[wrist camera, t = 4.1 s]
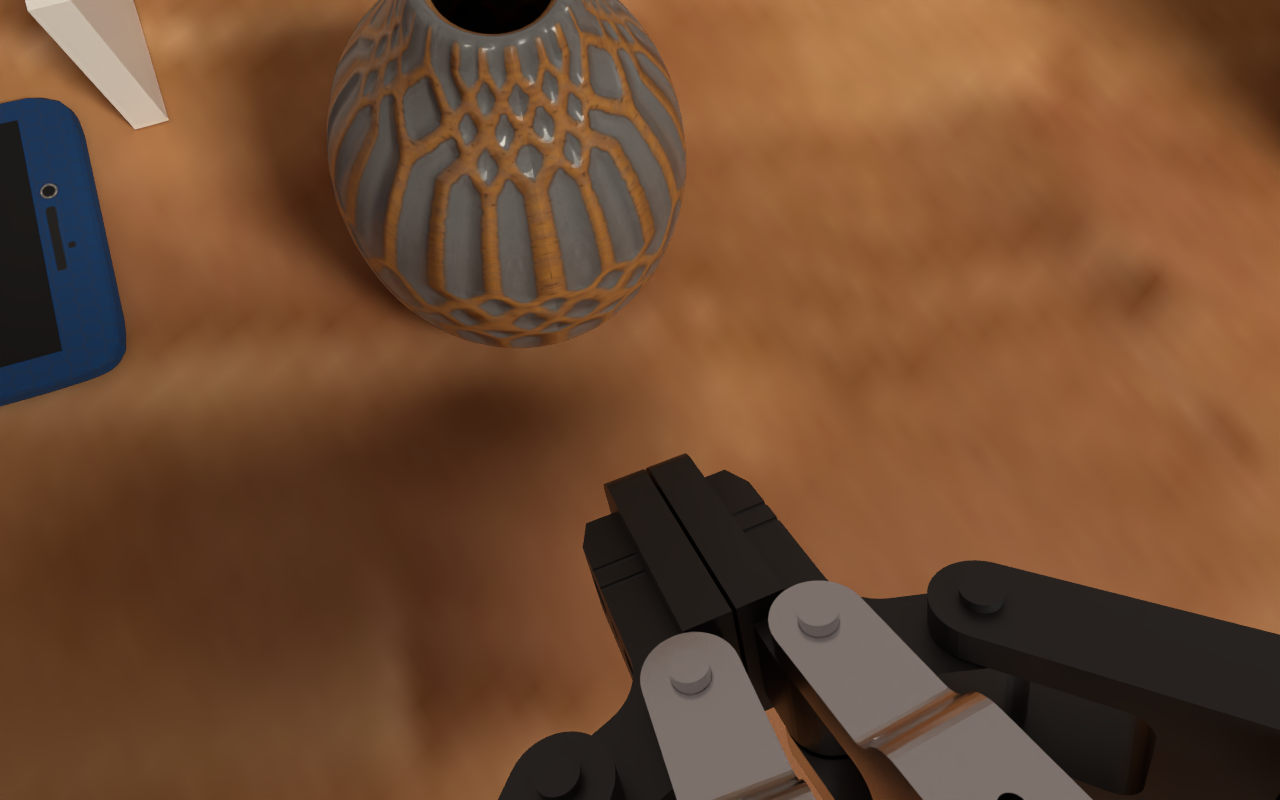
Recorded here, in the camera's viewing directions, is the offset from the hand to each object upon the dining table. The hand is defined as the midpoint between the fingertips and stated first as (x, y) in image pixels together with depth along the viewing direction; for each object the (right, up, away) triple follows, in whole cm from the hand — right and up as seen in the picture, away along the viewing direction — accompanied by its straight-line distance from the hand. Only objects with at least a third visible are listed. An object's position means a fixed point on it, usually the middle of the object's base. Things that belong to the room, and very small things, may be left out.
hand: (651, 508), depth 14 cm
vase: (-3, +6, +6) cm, 9 cm away
